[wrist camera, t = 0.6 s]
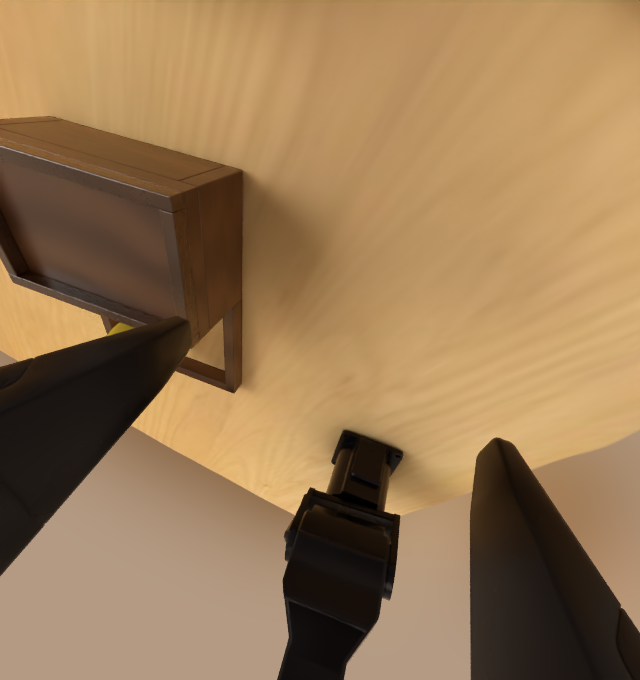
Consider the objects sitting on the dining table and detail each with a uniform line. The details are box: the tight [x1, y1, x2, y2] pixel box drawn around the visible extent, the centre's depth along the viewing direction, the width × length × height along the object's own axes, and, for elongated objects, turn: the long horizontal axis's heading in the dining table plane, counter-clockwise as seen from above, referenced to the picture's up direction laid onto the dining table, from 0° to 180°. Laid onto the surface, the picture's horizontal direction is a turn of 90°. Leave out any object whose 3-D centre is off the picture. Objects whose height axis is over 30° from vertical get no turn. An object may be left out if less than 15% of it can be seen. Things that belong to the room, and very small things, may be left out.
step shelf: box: [0, 116, 242, 393], centre depth 25 cm, size 21×15×7 cm
